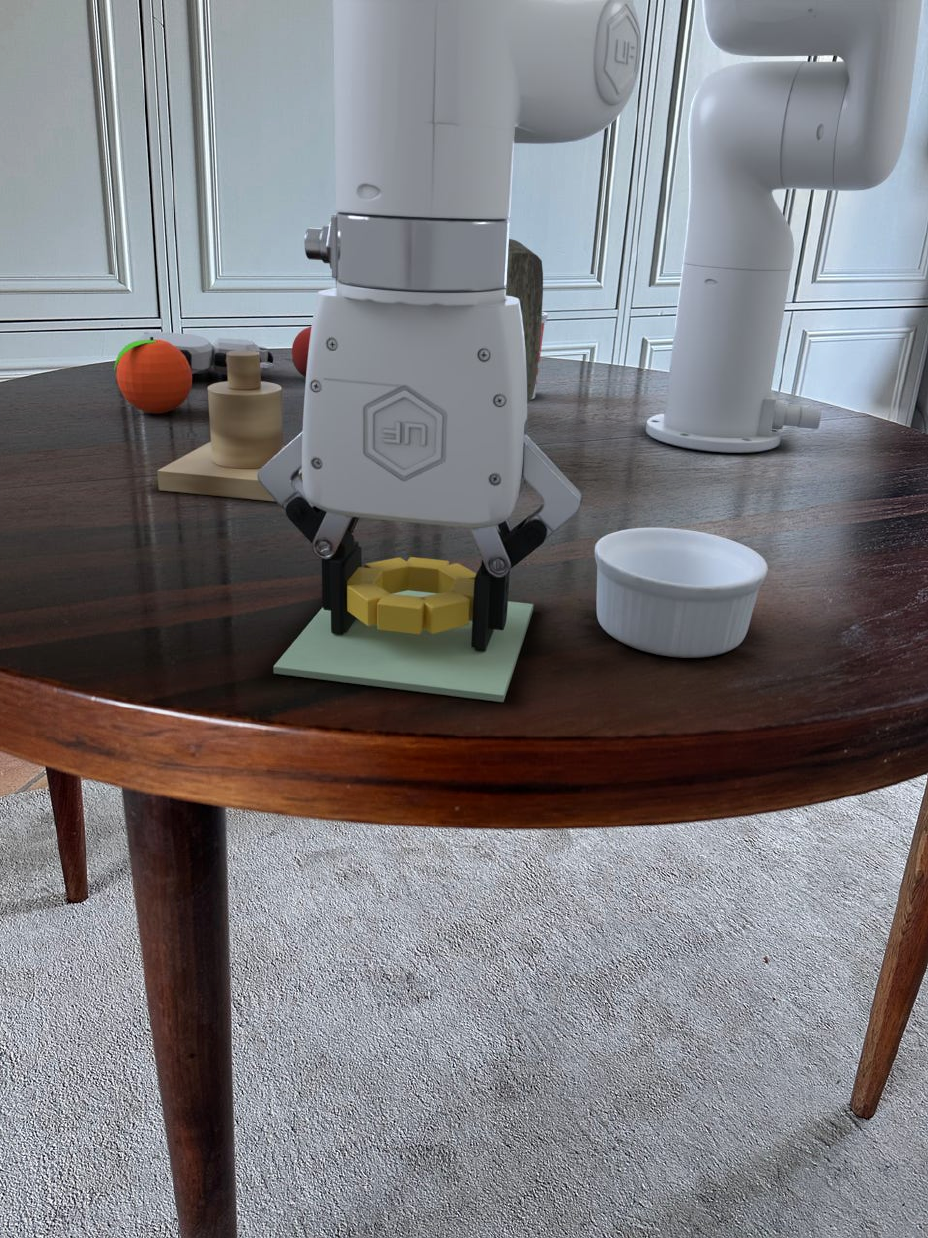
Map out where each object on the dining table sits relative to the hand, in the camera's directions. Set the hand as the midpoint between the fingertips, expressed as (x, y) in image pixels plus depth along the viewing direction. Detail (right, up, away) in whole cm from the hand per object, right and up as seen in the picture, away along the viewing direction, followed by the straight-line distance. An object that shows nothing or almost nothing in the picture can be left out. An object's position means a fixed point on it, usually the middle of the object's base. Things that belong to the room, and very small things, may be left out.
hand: (414, 629), depth 51 cm
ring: (0, +1, -1) cm, 1 cm away
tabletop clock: (+2, +14, +33) cm, 35 cm away
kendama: (-8, +28, +64) cm, 70 cm away
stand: (-14, +11, +26) cm, 31 cm away
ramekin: (+14, 0, +3) cm, 14 cm away
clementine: (-27, +20, +45) cm, 56 cm away
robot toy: (-27, +28, +62) cm, 73 cm away
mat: (0, -1, 0) cm, 1 cm away
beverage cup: (+8, +25, +59) cm, 65 cm away
